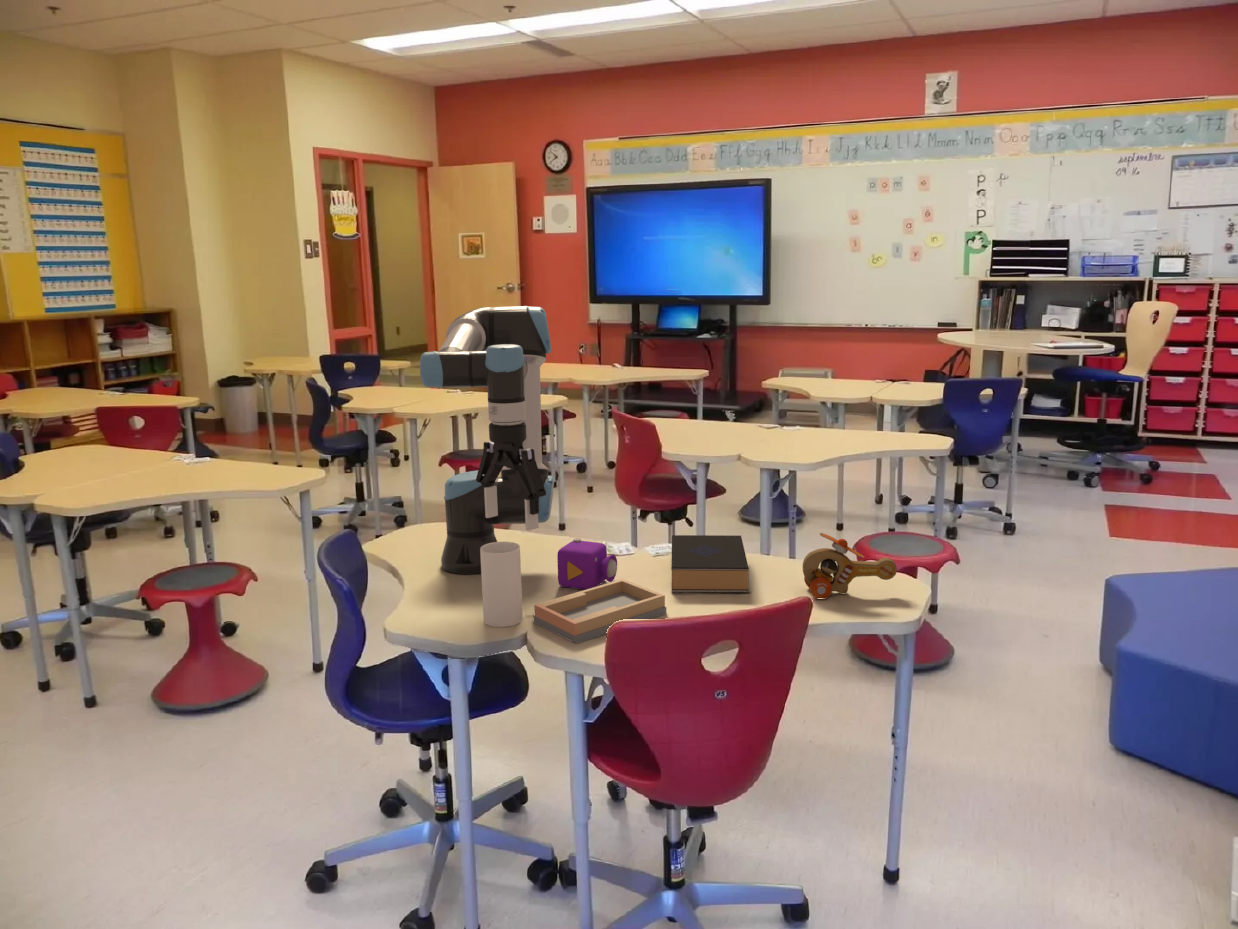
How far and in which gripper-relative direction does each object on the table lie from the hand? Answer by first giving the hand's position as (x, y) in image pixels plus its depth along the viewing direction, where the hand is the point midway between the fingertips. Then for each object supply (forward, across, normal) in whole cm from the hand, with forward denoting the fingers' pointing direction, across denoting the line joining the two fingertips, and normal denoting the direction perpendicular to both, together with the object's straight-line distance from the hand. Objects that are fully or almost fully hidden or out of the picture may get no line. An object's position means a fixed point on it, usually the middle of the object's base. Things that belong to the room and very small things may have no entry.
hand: (511, 522), depth 194 cm
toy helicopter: (+21, +42, +60) cm, 77 cm away
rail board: (+21, +13, +13) cm, 28 cm away
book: (+22, +12, +49) cm, 55 cm away
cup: (+21, -1, -2) cm, 21 cm away
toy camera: (+21, -4, +25) cm, 33 cm away
